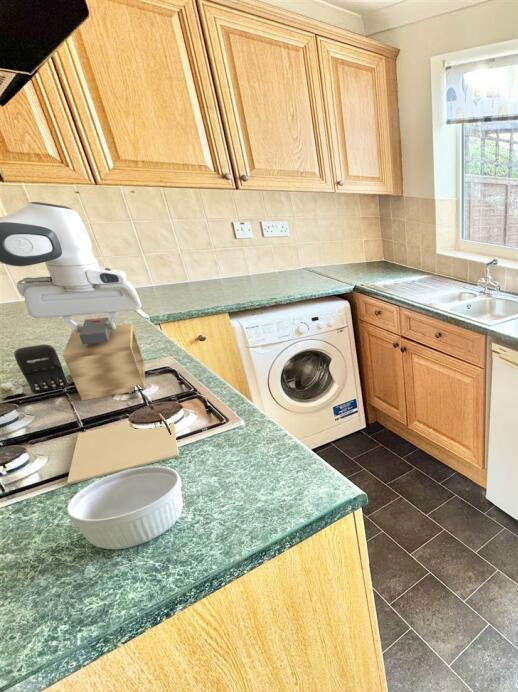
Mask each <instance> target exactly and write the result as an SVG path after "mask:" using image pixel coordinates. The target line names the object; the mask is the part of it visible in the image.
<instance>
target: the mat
mask: <svg viewBox="0 0 518 692" xmlns="http://www.w3.org/2000/svg"><path fill="white" fill-rule="evenodd" d="M129 423H130V422H126V423H121V424H116V425H111V426H106V427H102V428H97V429H92V430H86V431H82V432H78V434H77V438H76V442H75V445H74V450H73V455H72V459H71V464H70V468H69V472H68V477H67V481H66V484H67V485H72V484H77V483H80V482H85V481H89V480H92V479H96V478H97V479H98V478H100V477H103V476H109V475H112V474H115V473H118V472H122V471H125V470H129V469H134V468H140V467H144V466H147V465H151V464H155V463H159V462H162V461H167V460H171V459H174V458H178V457H180V455H179V454H180V453H179V446H178V439H177V440H176V438H177V432H176V423H175V421H174V422H173V423H171V424H170V425H169V426H170V429H171V433H172V434H171V435H170V433H169V432H168V430H167V429H166V428H165V427H164V426H162V427H157V428H151V429H134V428H132V427H130V425H129ZM174 423H175V424H174Z"/></svg>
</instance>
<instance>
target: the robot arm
mask: <svg viewBox="0 0 518 692" xmlns="http://www.w3.org/2000/svg"><path fill="white" fill-rule="evenodd" d="M42 263H45V266H46V268H47V271H48V274H49V276H38V277H23V278H22V279H20V280H18V281H17V282H16V289H17V291H18V293H19V295H21V296H22V297H24V302H25V307H26V310H27V313H28V316H31V317H32V318H34V319H44V318H45V319H47V318H58V317H62V318H63V321H64V322H65V323H67V324H69V325H70V326H71V327H72V328H73V330H75V332H76V333H80V332H81V330H82V327H83V324H82V323H77V322H75V320H73V319H74V316H82V315H83V316H84V315H94V314H105V313H108V316H109V317H111V319H110V321H109V322H106V325H107V327H108V330H111V329H116V326H117V325H116V324H115V321H116V319H117V318H118V312H131V311H139V310H140V309H141V308H142V302H141V299H140V297H139V295H138V292H137V290H136V288H135V286H134V285H133V284H132V283H131V282H130V281H128V280H127V275H126V272H125V271H123V270H121V269H116V268H110V267H105V266H101V265H99V262H98V259H97V258H96V257H95V255H94V254H93V251H92V241H91V239H90V236H89V234H88V231H87V229H86V227H85V224H84V222H83V220H82V218H81V216H80V214H78V212H77V211H76V210H75V209H73V208H71V207H69V206H66V205H62V204H61V205H59V204H53V203H49V202H48V203H46V202H42V201H41V202H40V201H30V202H27V204H26V205H25V206H23V207H21V208H20V209H18V210H15V211H14V212H11V213H9V214H7V215H3V216H0V264H3V265H6V266H11V267H19V268H20V267H29V266H33V265H39V264H42Z"/></svg>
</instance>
